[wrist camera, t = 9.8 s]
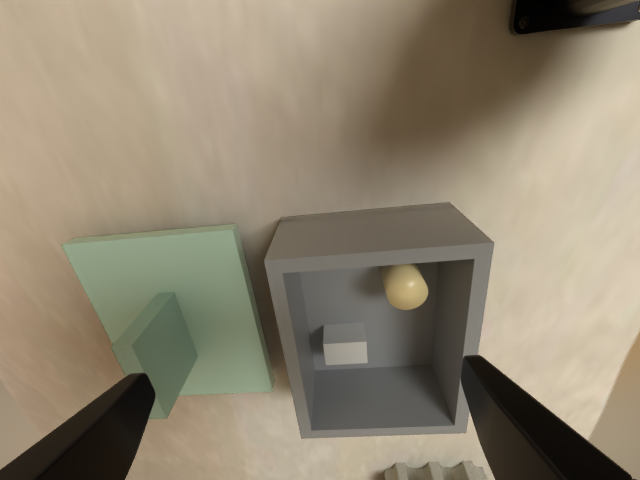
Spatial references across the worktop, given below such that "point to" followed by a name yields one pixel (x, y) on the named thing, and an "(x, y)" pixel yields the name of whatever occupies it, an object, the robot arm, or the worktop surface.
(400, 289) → the tub
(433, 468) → the egg carton
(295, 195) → the worktop surface
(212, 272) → the lid
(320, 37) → the worktop surface
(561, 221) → the worktop surface
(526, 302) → the worktop surface
